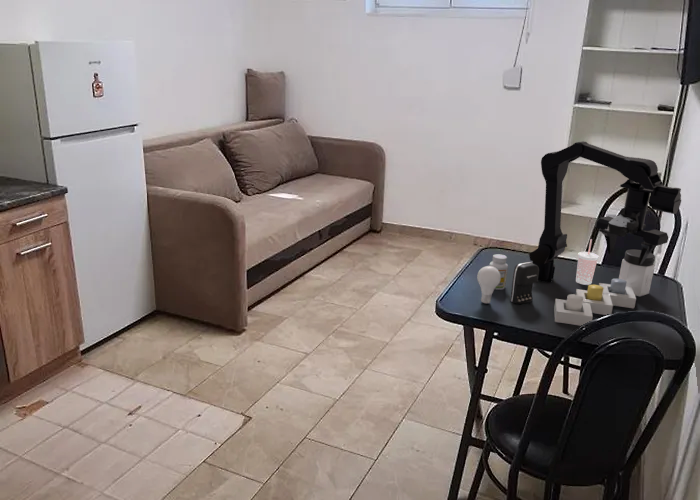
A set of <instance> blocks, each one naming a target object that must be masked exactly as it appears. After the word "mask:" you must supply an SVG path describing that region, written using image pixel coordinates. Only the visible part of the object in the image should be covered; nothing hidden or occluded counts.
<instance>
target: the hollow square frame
mask: <svg viewBox="0 0 700 500" xmlns="http://www.w3.org/2000/svg"><path fill="white" fill-rule="evenodd" d="M587 291H588V289H587V290H585V289H578V288H576V289H575V293H574V294H575V295H579V296H582V297H583V303H589V304H590V306H591V311H592V314H598V315H603V316H608V315H607V314H611V315H612V313H613V308H614V305H613V304H612V301H611V297H610V295H606V294H605V293H604V294H602V299H601V301H595V300H588V299H586V296H587Z"/></svg>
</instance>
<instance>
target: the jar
mask: <svg viewBox="0 0 700 500" xmlns="http://www.w3.org/2000/svg"><path fill="white" fill-rule="evenodd" d="M641 250H642V249H627V250H626V251H625V252H624V258H623V259H622V261H621V265H620V270H619V275H618V279H622V280H625V281H626V282H627V283H626V287H632V289H633V292H634V294H635V297H643V296H645V295H649V294H650V290H651V285H652V280H653V276H654V271H655V266H656V264H655V260H656V255H655V254H654V253H652V252H650V254H649V255H648V256H647V258H646V259H645V260H644V262H643V263H642V264H641V265H639V258H640V254H641Z"/></svg>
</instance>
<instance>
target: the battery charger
mask: <svg viewBox="0 0 700 500" xmlns="http://www.w3.org/2000/svg"><path fill="white" fill-rule="evenodd" d="M538 275H539V267H538V266H537V265H535V264H533V263H532V261H527V262H520V263H518V264H516V265H515V266H514V270H513V276H512V283H511V293H510V299H509V300H510V302H511V303H514V304H516V305H522V304H528V303H531V302H533V300H534V299H533V293H532V291H533V286H534V284H535V283H538V282H539V281H538Z"/></svg>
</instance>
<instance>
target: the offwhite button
mask: <svg viewBox="0 0 700 500" xmlns="http://www.w3.org/2000/svg"><path fill="white" fill-rule="evenodd" d="M566 297H567V298H566V300H567V302H566V308H565V310H570V311H577V312H581V309H582V303H583V297H582V296H579V295H575V293H573V294H572V293H569V294H567V296H566Z"/></svg>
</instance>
